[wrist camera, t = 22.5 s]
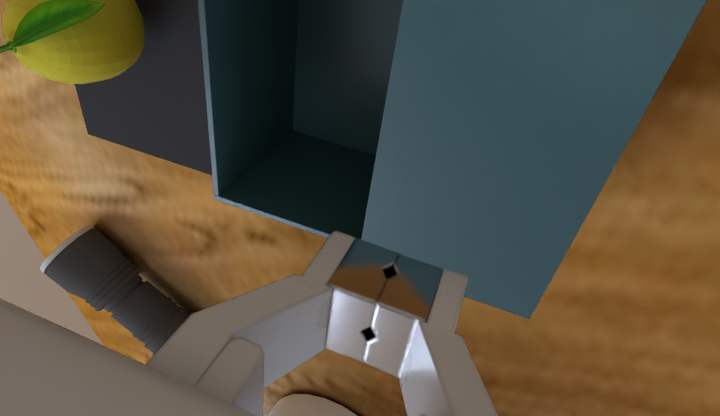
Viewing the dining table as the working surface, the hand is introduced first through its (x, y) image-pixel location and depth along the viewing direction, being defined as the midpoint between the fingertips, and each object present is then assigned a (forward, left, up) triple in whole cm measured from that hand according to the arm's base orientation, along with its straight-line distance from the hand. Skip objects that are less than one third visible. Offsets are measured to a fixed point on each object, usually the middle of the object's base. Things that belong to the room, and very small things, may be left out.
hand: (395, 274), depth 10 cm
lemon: (-2, +21, -15) cm, 26 cm away
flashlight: (-28, +25, -16) cm, 41 cm away
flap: (0, -1, -8) cm, 8 cm away
